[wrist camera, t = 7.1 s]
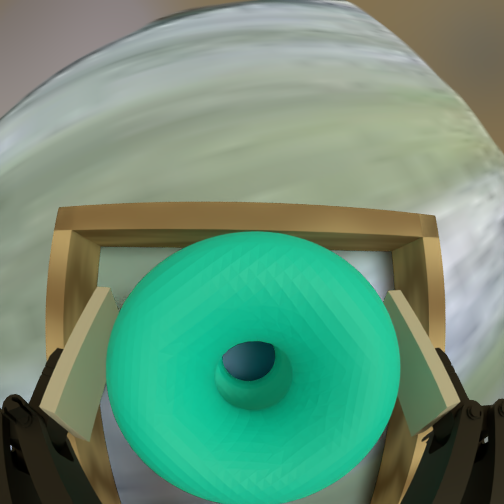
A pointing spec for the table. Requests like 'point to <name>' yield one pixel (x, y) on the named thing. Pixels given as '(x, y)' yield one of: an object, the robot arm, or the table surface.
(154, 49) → the table surface
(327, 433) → the donuts
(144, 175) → the table surface
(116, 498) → the wooden u-shaped frame
